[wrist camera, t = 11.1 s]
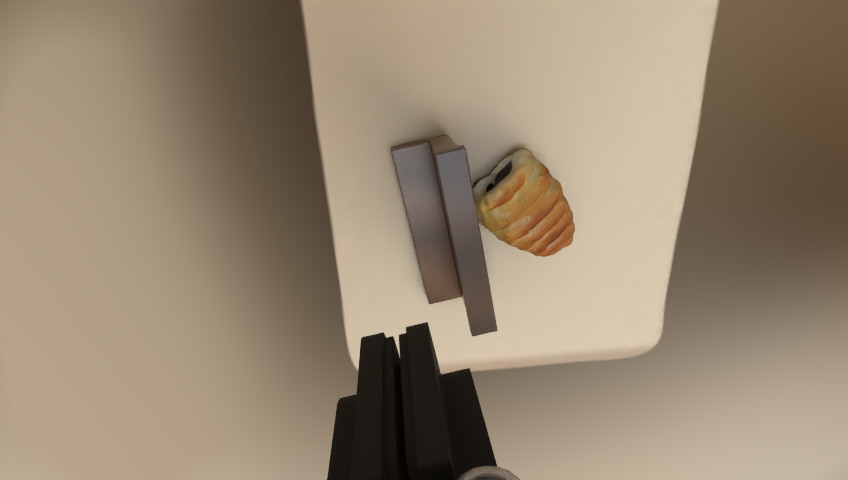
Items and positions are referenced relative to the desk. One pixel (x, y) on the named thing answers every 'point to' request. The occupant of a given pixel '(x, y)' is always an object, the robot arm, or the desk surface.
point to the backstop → (445, 226)
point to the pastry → (525, 206)
